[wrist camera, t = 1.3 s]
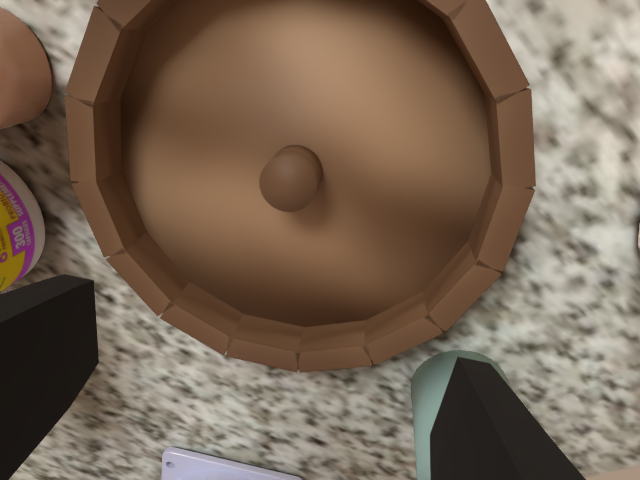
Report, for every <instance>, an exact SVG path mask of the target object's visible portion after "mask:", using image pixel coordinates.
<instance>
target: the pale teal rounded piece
mask: <svg viewBox="0 0 640 480" xmlns="http://www.w3.org/2000/svg"><path fill="white" fill-rule="evenodd" d="M457 357H463V358H468V359H473V360H477V361H482V362H487V363H490V364H491V365H492V366H493V367H494V368H495V369H496V371H497V372H498V373H499V374H500V376H501V377H502V378H503V379H504V380H505V382H506V383H507V384H508V381H507V378H506V375H505V373H504V372H503V370H502V369H501V368H500V366H499V365H498V364H497V363H496V362H494V361H493V360H491V359H490V358H488V357H486V356H484V355H482V354H479V353H475V352H471V351H461V350H458V351H448V352H444V353H440V354H438V355H435V356H433V357H431V358H429V359H428V360H426V361H425V362H424V363H422V364H421V365H420V366H419V368H418V369H417V370H416V372H415V373H414V375H413V378H412V381H411V398H412V412H413V426H414V440H415V454H416V469H417V480H431V476H430V433H431V430H432V427H433V424H434V422H435V419H436V416H437V413H438V410H439V407H440V405H441V402H442V399H443V396H444V393H445V391H446V388H447V385H448V382H449V379H450V376H451V374H452V371H453V368H454V365H455V362H456V360H457ZM508 385H509V384H508Z"/></svg>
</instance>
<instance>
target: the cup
mask: <svg viewBox="0 0 640 480" xmlns="http://www.w3.org/2000/svg"><path fill="white" fill-rule="evenodd" d="M638 246H639V249H640V225H639V237H638Z"/></svg>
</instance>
